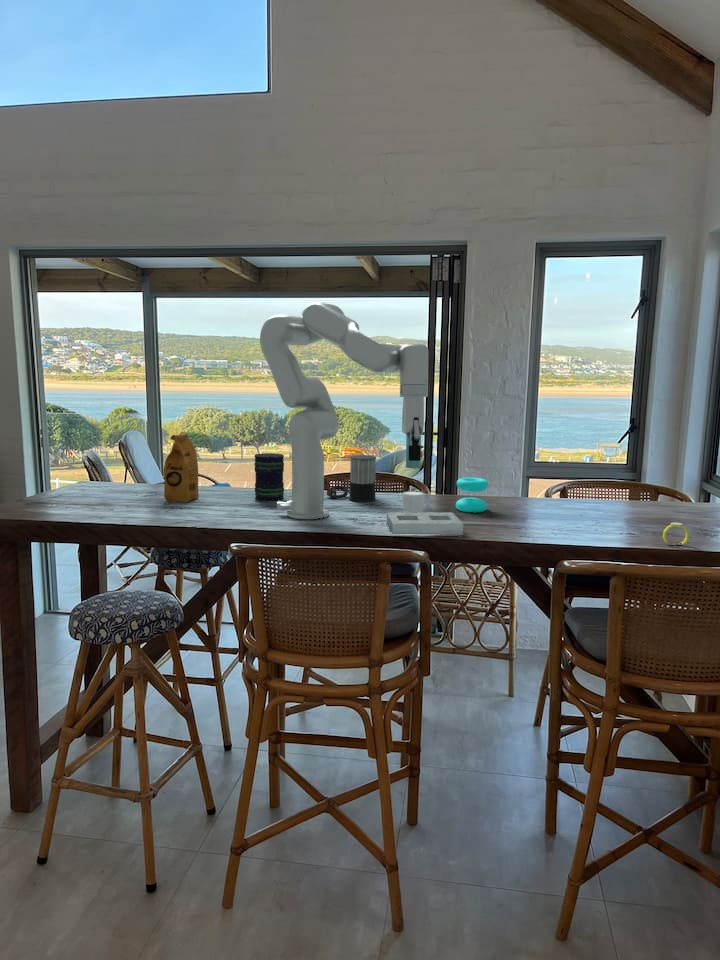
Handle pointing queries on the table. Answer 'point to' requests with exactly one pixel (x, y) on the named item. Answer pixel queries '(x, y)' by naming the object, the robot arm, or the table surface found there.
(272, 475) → the storage jar
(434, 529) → the block
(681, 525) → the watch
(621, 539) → the table surface
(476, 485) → the donuts
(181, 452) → the coffee package
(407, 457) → the peg
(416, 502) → the grey cup
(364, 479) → the milk frother
